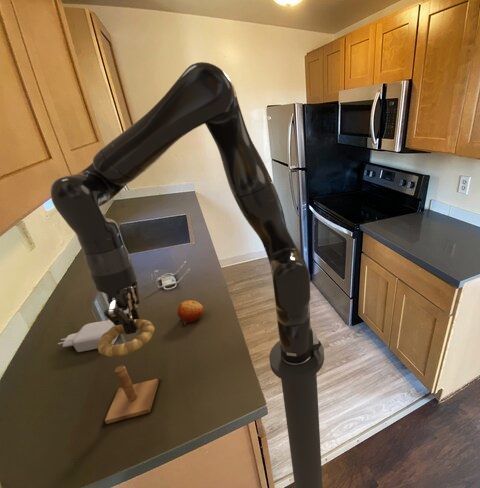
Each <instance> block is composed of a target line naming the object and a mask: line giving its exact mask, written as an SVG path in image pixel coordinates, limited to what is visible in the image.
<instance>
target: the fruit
mask: <svg viewBox="0 0 480 488" xmlns="http://www.w3.org/2000/svg"><path fill="white" fill-rule="evenodd" d="M203 312H204V305H202V304H201V303H200V302H198V301H196V300H192V299H191V300H190V299H189V300H183V302H181V303H180V304H179V305H178V308H177V316H178V317H179V319H180V320H181V321H182V322H183V323H184V325H183V326H185V325H186V324H187V323H193V322H195V321H197V320H199V319H200V318H201V316H202V315H203Z"/></svg>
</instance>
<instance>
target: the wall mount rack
mask: <svg viewBox="0 0 480 488" xmlns="http://www.w3.org/2000/svg"><path fill="white" fill-rule="evenodd" d="M186 264H187V260H186V261H184V262H183V263H182V264H181V266H180V267H179V268H178V269H177V270H176V272H174V273H171V272H170V273H164V274H162V275H161V276H160V277H157V274H156V273H158V272H159V269H156V270H154V272H153V276H154V279H155V284H156V287H157V288H158V289H161V288H163V289H164V291H165V290H166V291H167V290H168V291H169V290H173V289H175V288H176V287H177V286H178V284H179V283H180V282H181V281H182V280H183V279H184V277H185V276H186V275H188V273H189V272H190V271H191V268H188V269H187V270H186V271H185V272H184V274H183V275H182V276H181V277H180V278H179V279H178V280H176V278H175V275H177V274H178V273H179V271H180V270H181V269H182V268H183V267H184V266H185V265H186ZM159 281H161V285H159ZM169 287H170V288H169Z"/></svg>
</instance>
